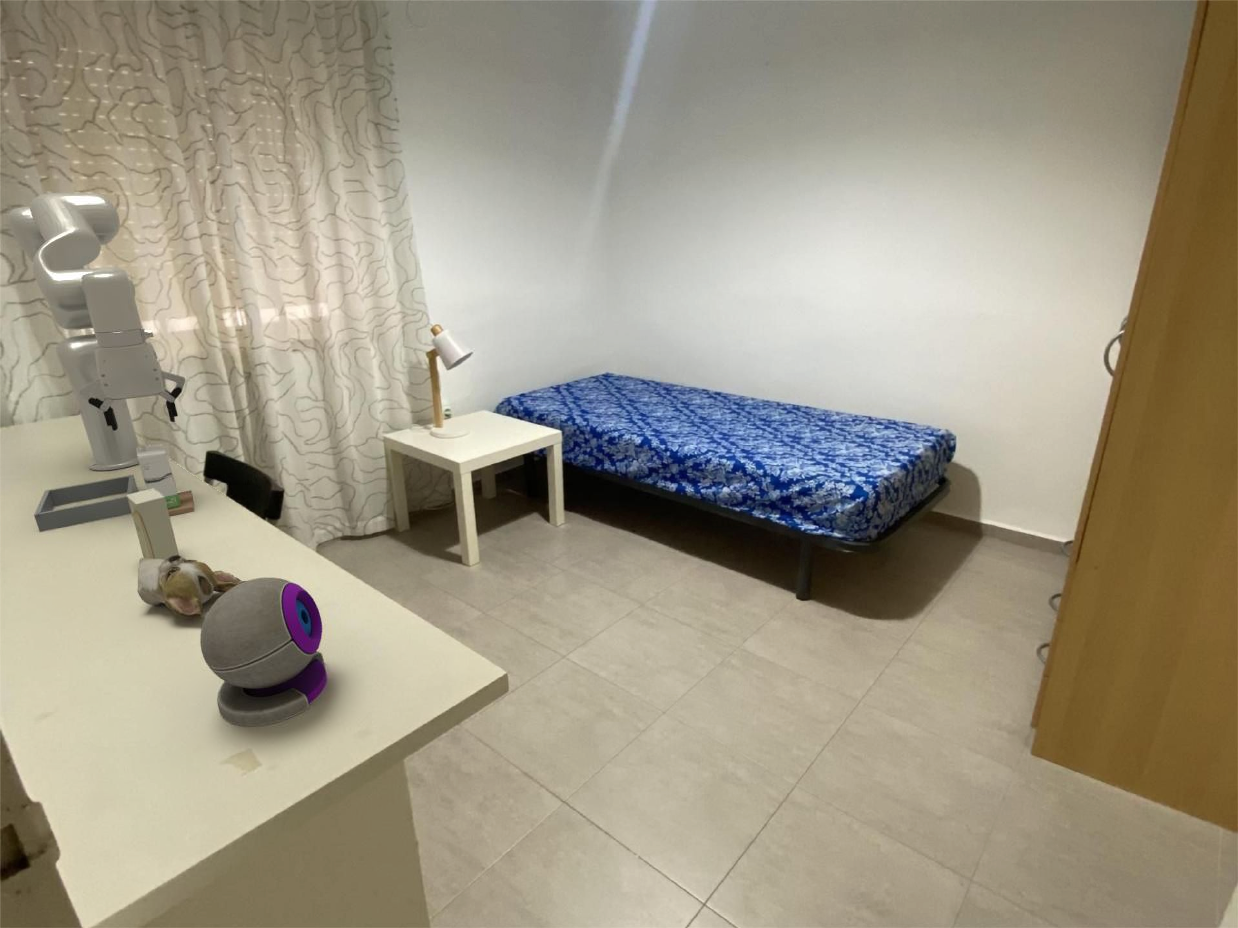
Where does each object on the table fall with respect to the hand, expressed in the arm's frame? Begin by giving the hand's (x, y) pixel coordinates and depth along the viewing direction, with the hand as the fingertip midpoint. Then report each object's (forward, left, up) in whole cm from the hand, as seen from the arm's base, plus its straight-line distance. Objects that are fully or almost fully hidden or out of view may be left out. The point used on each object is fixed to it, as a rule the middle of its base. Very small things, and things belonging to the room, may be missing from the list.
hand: (144, 424), depth 136 cm
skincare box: (+27, -1, -18) cm, 33 cm away
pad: (0, 0, -18) cm, 18 cm away
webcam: (+78, +11, -18) cm, 81 cm away
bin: (-9, -13, -18) cm, 24 cm away
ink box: (0, 0, -17) cm, 17 cm away
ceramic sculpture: (+48, +3, -18) cm, 51 cm away
